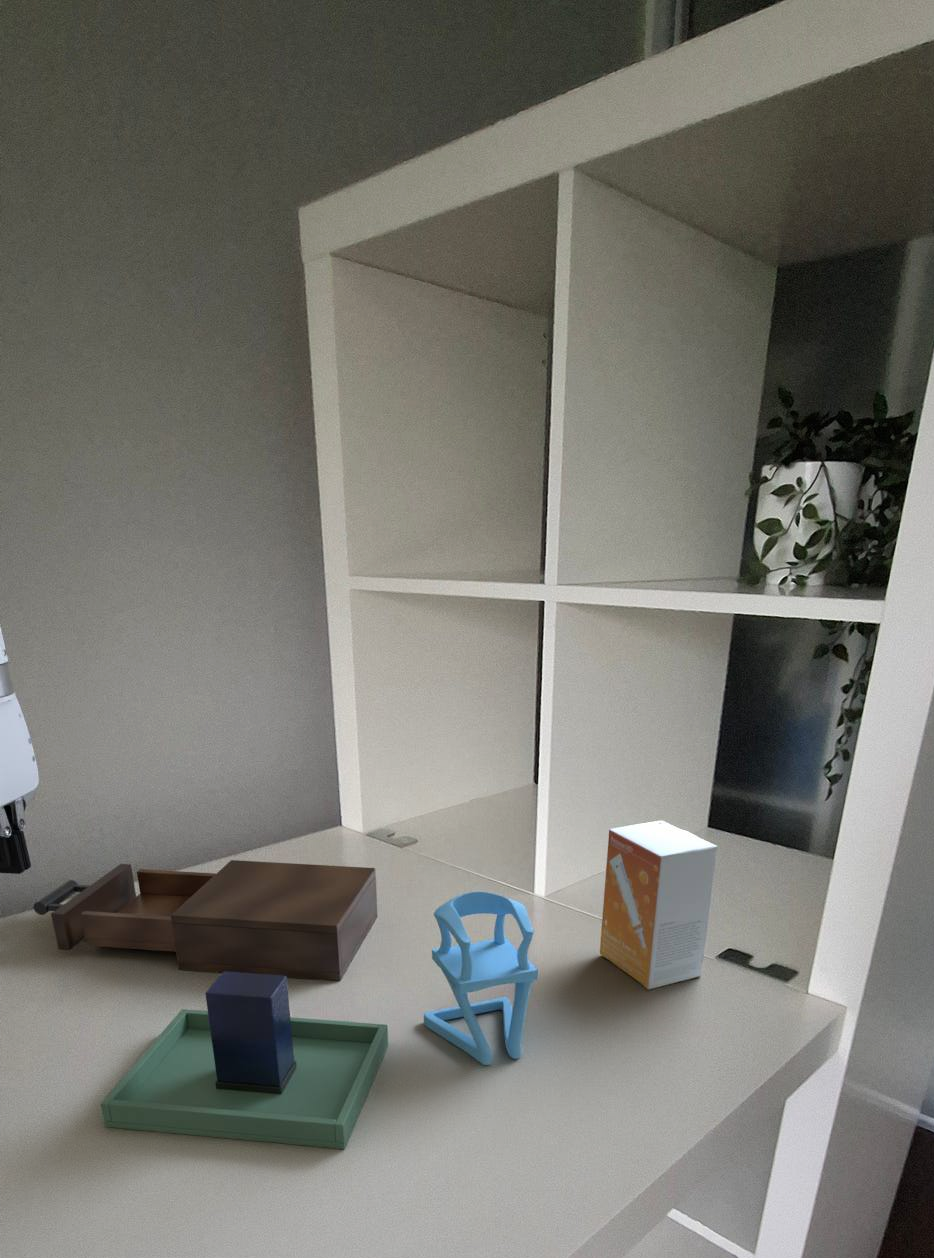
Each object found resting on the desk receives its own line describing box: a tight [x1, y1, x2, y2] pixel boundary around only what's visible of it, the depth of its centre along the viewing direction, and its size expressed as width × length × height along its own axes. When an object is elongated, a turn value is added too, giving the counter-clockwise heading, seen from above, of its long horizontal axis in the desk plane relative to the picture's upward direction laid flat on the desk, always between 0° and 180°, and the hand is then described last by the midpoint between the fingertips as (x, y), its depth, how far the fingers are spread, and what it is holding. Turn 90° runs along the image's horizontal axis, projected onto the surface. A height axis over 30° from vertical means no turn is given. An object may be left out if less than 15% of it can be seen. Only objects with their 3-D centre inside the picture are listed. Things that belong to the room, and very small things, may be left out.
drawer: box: [32, 863, 217, 953], centre depth 91 cm, size 19×13×4 cm
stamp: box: [204, 971, 297, 1094], centre depth 66 cm, size 5×4×8 cm
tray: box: [100, 1008, 389, 1150], centre depth 68 cm, size 17×13×2 cm
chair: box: [423, 890, 539, 1066], centre depth 72 cm, size 8×8×12 cm
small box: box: [599, 820, 718, 990], centre depth 83 cm, size 8×6×13 cm
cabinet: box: [171, 859, 378, 982], centre depth 89 cm, size 16×15×6 cm
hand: (12, 870), depth 91 cm, fingers closed
